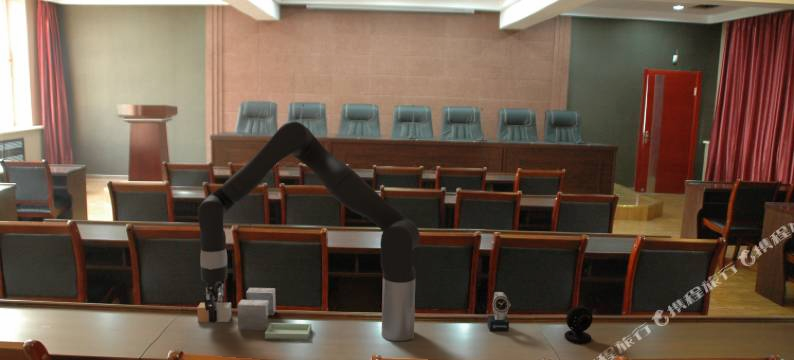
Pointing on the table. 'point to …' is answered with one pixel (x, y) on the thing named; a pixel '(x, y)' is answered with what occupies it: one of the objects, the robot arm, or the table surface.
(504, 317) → the watch
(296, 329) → the tray
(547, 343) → the table surface
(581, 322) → the webcam
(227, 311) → the two-tone eraser block
